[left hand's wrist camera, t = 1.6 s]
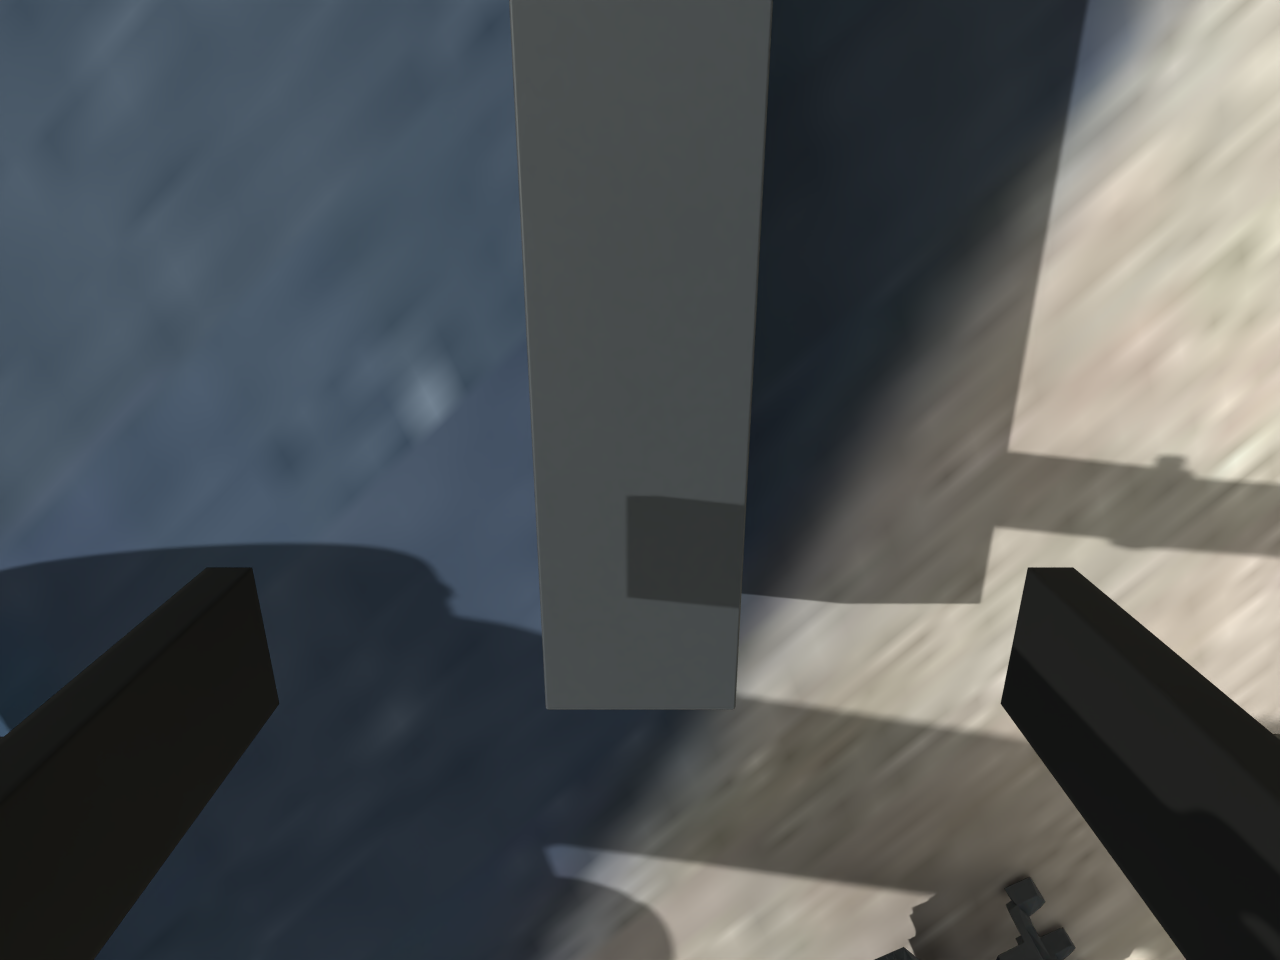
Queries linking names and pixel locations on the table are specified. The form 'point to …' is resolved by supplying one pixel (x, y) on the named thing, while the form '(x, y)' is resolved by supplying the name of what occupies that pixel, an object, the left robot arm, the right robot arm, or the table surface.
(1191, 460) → the table surface
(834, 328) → the table surface
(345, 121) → the table surface
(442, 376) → the table surface
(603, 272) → the post
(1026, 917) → the toy
